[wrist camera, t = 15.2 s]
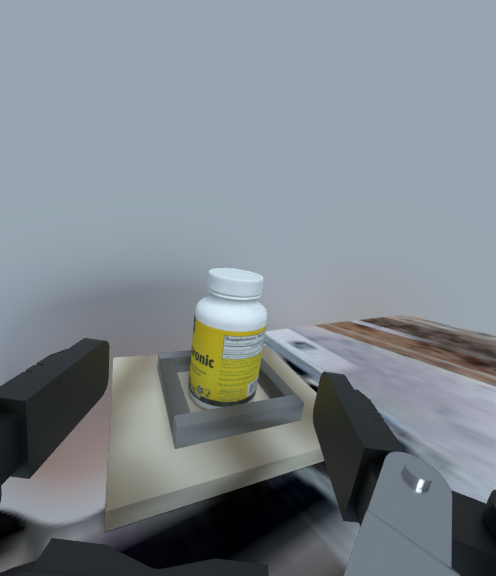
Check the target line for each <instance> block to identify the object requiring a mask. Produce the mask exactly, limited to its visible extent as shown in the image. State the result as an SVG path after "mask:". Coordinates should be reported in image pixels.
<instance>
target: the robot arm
mask: <svg viewBox="0 0 496 576" xmlns="http://www.w3.org/2000/svg"><path fill="white" fill-rule="evenodd" d="M108 377H109V343H108V342H107V341H104V340H96V339H89V338H84V339H82V340H81V341H79V342H78V343H76V344H75V345H73V346H72V347H70V348H69V349H65V350H63V351H60V352H57V353H54V354H51V355H49V356H48V357H46V358H44V359H43V360H41V361H40V362H38V363H37V364H36V365H33V366H32V367H30V368H29V369H27V370H26V371H25V372H22V373H21V374H19V375H18V376H16V377H14V378H13V379H11V380H10V381H8V382H7V383H5V384H3V385H2V386H0V502H1V485H2V484H3V483H4V482H5V481H6V480H7V479H8V478H9V477H10V476H11V477H19V478H27V479H30V478H31V476H32V475H33V474H34V473H35V472H36V471H37V470H38V469H39V467H40V466H41V465H42V464H43V463H44V462H45V461H46V459H47V458H48V457H49V456H50V455H51V454H52V453H53V452H54V450H55V449H56V448H57V447H58V446H59V445H60V443H61V442H62V441H63V440H64V439H65V438H66V437H67V435H68V434H69V433H70V432H71V431H72V430H73V429H74V428H75V427H76V425H77V424H78V423H79V422H80V421H81V420H82V419H83V418H84V416H85V415H86V414H87V413H88V412H89V411H90V410H91V408H92V407H93V406H94V405H95V404H96V403H97V402H98V400H99V399H100V398H101V397H102V396H103V394H104V392H105V390H106V387H107V384H108ZM313 425H314V428H315V432H316V435H317V438H318V441H319V444H320V448H321V451H322V454H323V457H324V460H325V464H326V467H327V470H328V473H329V476H330V480H331V483H332V486H333V489H334V492H335V496H336V499H337V502H338V505H339V508H340V512H341V515H342V518H343V521H350V522H358V523H359V524H360V527H361V528H360V531H359V533H358V536H357V539H356V542H355V545H354V548H353V551H352V554H351V556H350V559H349V562H348V565H347V568H346V571H345V574H344V576H496V490H493V491H492V492H491V494H490V497H489V499H488V501H487V504H485V503H483V502H480V501H478V500H475V499H473V498H470V497H467V496H465V495H462V494H460V493H457V492H454V491H452V490H451V489H450V487H449V485H448V483H447V482H446V480H445V479H444V478H443V477H442V475H441V474H440V473H439V472H438V471H437V470H435V469H434V468H433V467H432V466H431V465H429V464H428V463H426V462H425V461H423V460H421V459H420V458H418V457H415V456H413V455H411V454H408V453H406V452H405V450H404V449H403V447H402V446H401V444H400V443H399V441H398V440H397V439H396V437H395V436H394V434H393V433H392V431H391V430H390V428H389V427H388V425H387V424H386V422H384V420H383V418H382V417H381V415H380V414H379V413H377V409H376V408H375V406H374V405H373V404H372V402H371V401H370V400H369V399H368V398H367V397H366V396H365V395H363V394H362V393H361V392H360V391H359V390H354V389H353V387H352V385H351V384H350V382H349V381H348V379H347V378H346V376H345V375H344V374H337V373H330V372H323V373H322V375H321V377H320V382H319V386H318V390H317V395H316V399H315V403H314V408H313ZM0 576H268V565H264V564H256V563H248V562H240V561H232V560H224V559H216V558H215V559H210V560H205V561H200V562H195V563H190V564H185V565H180V566H174V567H169V568H164V569H153V568H150V567H148V566H146V565H144V564H142V563H140V562H138V561H136V560H134V559H132V558H131V557H129V556H127V555H125V554H123V553H121V552H119V551H117V550H115V549H113V548H111V547H109V546H107V545H103V544H95V543H87V542H79V541H71V540H63V539H55V538H52V539H51V540H50V542H49V543H48V545H47V546H46V548H45V550H44V551H43V553H42V554H41V556H40V557H39V559H38V560H37V561H36V562H31V563H27V564H24V565H21V566H17V567H14V568H12V569H9V570H7V571H4V572H2V573H0Z"/></svg>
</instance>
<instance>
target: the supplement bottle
mask: <svg viewBox="0 0 496 576" xmlns="http://www.w3.org/2000/svg"><path fill="white" fill-rule="evenodd" d="M262 287H263V277H262V276H261V275H259V274H256V273H253V272H249V271H245V270H239V269H231V268H216V269H211V270H209V272H208V281H207V291H208V292H209V293H210V294H209V296H207V297H205V298H203V299H202V300H200V301H199V302H198V304H197V306H196V309H195V315H194V328H193V329H194V330H193V340H192V351H191V362H190V373H189V386H188V389H189V394H190V396H191V398H192V400H193V401H194V402H195V403H196V404H197V405H199V406H200V407H202V408H204V409H206V410H209V409H215V408H221V407H227V406H232V405H238V404H244V403H250V402H252V401H253V400H254V397H255V394H256V389H257V383H258V376H259V370H260V364H261V357H262V350H263V344H264V337H265V331H266V325H267V311H266V309H265V308H264V306H263V305H262V304H260V303H259V302H257V300H258V298H260V297H261V293H262Z"/></svg>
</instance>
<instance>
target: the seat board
mask: <svg viewBox="0 0 496 576" xmlns="http://www.w3.org/2000/svg"><path fill="white" fill-rule="evenodd" d="M191 351H192V350H191ZM191 351H179V352H164V353H158V354H157V355H144V356H131V357H117V358H113V376H112V395H111V412H110V431H109V449H108V466H107V485H106V503H105V530H104V532H106V531H109V530H112V529H115V528H119V527H122V526H125V525H128V524H131V523H134V522H137V521H140V520H143V519H146V518H149V517H152V516H156V515H159V514H162V513H165V512H168V511H171V510H174V509H177V508H180V507H183V506H186V505H190V504H193V503H196V502H199V501H202V500H205V499H208V498H211V497H214V496H217V495H220V494H224V493H227V492H230V491H233V490H236V489H239V488H242V487H245V486H248V485H251V484H254V483H257V482H261V481H264V480H267V479H270V478H273V477H276V476H279V475H282V474H285V473H288V472H291V471H295V470H298V469H301V468H304V467H307V466H310V465H313V464H316V463H319V462H322V461H325V460H324V457H323V454H322V451H321V448H320V444H319V441H318V438H317V435H316V432H315V428H314V425H313V408H314V403H315V399H316V395H317V393H316V392H315V391H314V390H313V389H312V388H311V387H310V386H308V385H307V384H306V383H305V382H304V381H303V380H302V379H301V378H300V377H299V376H298V375H297V374H296V373H295V372H294V371H293V370H292V369H291V368H290V367H289V366H288V365H286V364H285V363H284V362H283V361H282V360H281V359H280V358H279V357H278V356H277V355H276V354H275V353H274V352H273V351H272V350H271V349H270V348H269V347H268V346H264V347H263V350H262V357H261V364H260V370H259V376H258V383H257V389H256V394H255V397H254V400H253V401H252V402H250V403H244V404H238V405H232V406H227V407H221V408H215V409H209V410H206V409H204V408H202V407H200V406H199V405H197V404H196V403H195V402H194V401H193V400H192V398H191V396H190V394H189V389H188V386H189V373H190V362H191Z"/></svg>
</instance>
